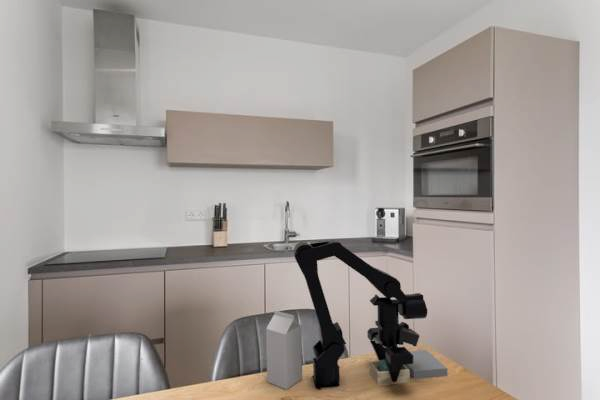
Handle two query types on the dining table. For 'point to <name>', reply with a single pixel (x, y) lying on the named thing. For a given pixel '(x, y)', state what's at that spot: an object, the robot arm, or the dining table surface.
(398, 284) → the robot arm
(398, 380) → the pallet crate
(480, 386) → the dining table surface
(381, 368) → the cargo block
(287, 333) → the milk carton
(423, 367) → the block
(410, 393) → the dining table surface
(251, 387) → the dining table surface
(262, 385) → the dining table surface
